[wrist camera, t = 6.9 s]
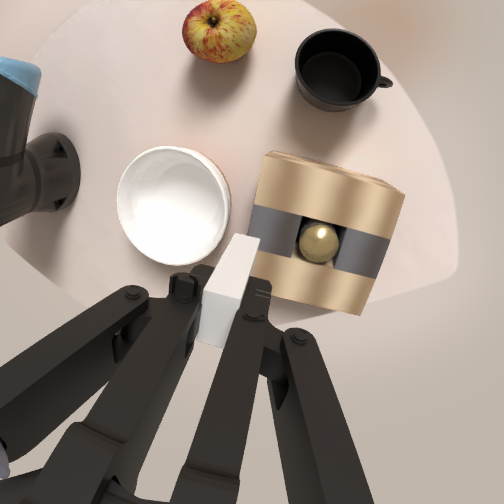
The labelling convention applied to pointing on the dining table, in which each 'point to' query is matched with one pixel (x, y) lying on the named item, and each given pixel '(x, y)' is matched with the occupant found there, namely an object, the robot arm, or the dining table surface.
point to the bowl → (173, 205)
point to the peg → (317, 240)
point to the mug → (337, 70)
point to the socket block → (329, 210)
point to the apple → (219, 31)
